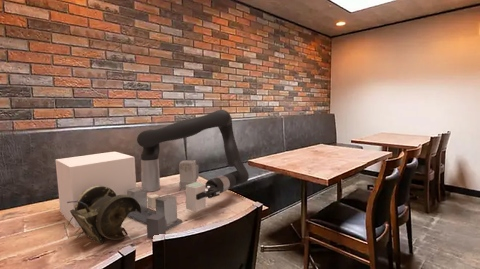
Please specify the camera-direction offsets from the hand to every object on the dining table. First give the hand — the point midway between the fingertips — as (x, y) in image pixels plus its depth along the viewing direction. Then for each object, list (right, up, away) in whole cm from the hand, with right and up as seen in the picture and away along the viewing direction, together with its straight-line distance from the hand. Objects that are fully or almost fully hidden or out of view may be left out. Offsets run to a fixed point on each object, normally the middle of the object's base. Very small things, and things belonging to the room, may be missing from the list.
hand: (191, 195), depth 109 cm
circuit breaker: (-9, -5, +45) cm, 46 cm away
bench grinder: (-30, -12, -13) cm, 35 cm away
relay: (-10, -11, -13) cm, 20 cm away
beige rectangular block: (-20, -8, +15) cm, 27 cm away
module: (+1, -6, +3) cm, 7 cm away
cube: (-43, -10, +11) cm, 45 cm away
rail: (-16, -10, +1) cm, 19 cm away
